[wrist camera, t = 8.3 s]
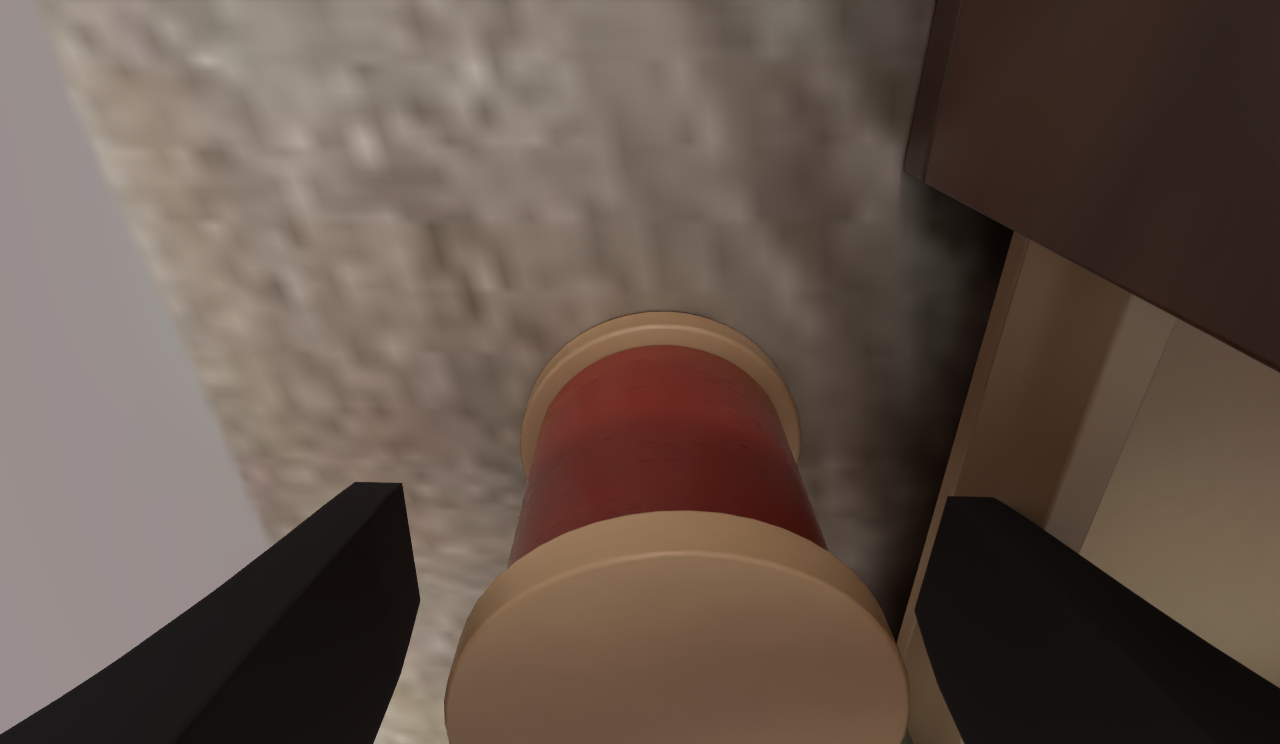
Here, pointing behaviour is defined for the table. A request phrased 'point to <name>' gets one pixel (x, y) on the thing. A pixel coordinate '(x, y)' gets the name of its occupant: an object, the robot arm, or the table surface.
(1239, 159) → the cabinet
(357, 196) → the table surface
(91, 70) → the table surface
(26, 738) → the robot arm
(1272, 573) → the drawer
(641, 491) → the spool
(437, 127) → the table surface
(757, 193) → the table surface
